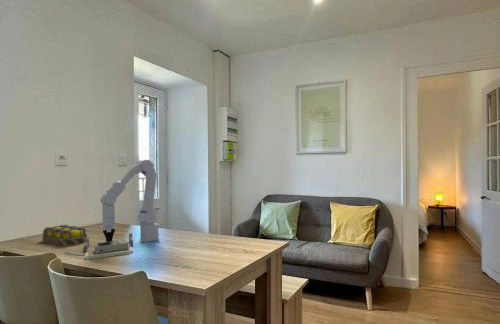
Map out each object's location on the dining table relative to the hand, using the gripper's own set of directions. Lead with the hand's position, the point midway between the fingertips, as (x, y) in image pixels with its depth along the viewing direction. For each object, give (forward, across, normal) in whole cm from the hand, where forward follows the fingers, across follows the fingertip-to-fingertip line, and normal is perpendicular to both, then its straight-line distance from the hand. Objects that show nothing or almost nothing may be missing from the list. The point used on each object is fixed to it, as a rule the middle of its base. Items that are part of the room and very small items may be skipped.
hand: (109, 244), depth 161 cm
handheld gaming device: (+2, +6, +1) cm, 6 cm away
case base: (+2, -2, 0) cm, 3 cm away
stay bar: (+2, +6, -15) cm, 16 cm away
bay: (+2, +14, 0) cm, 14 cm away
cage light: (+2, -30, -23) cm, 38 cm away
